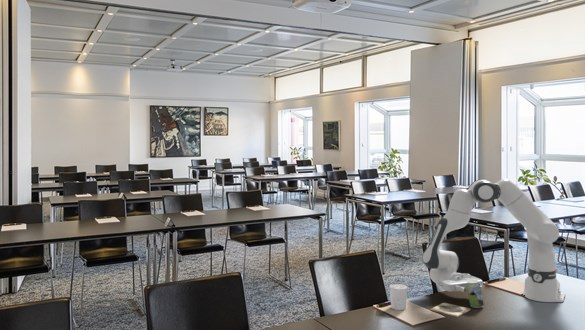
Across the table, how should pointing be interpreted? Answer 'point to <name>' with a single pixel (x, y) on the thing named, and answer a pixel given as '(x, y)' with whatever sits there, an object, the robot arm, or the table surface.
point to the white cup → (398, 296)
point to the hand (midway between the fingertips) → (473, 289)
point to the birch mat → (450, 309)
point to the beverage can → (475, 294)
